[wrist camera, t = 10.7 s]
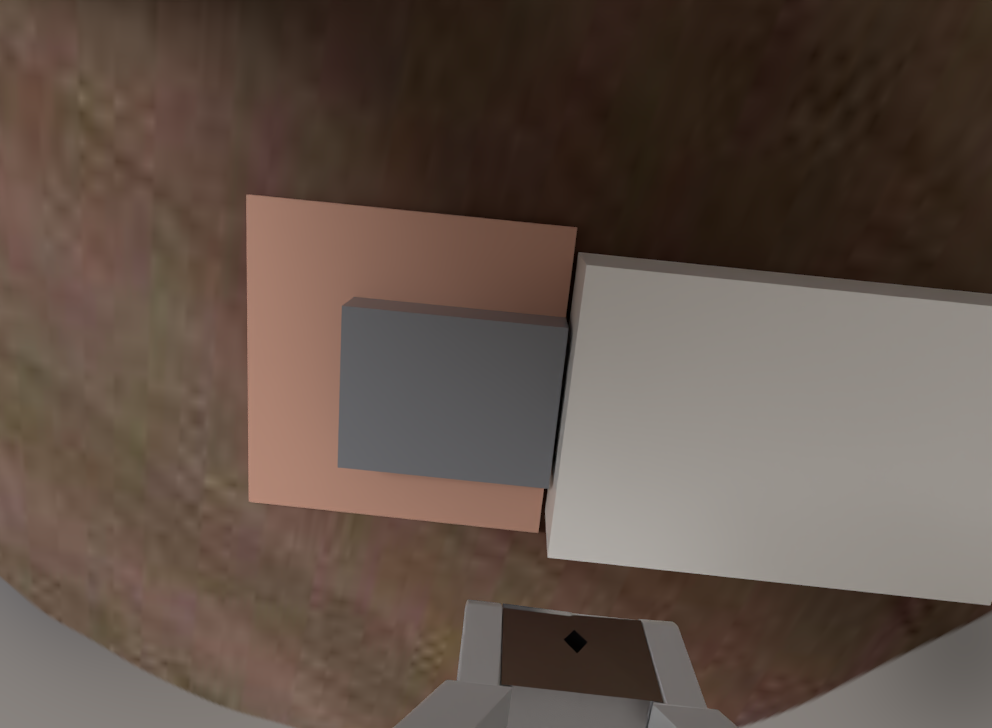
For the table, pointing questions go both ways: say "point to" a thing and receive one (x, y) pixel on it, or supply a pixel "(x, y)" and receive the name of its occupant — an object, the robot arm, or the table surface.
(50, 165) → the table surface
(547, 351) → the gray flat block
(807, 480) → the block
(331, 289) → the mat
